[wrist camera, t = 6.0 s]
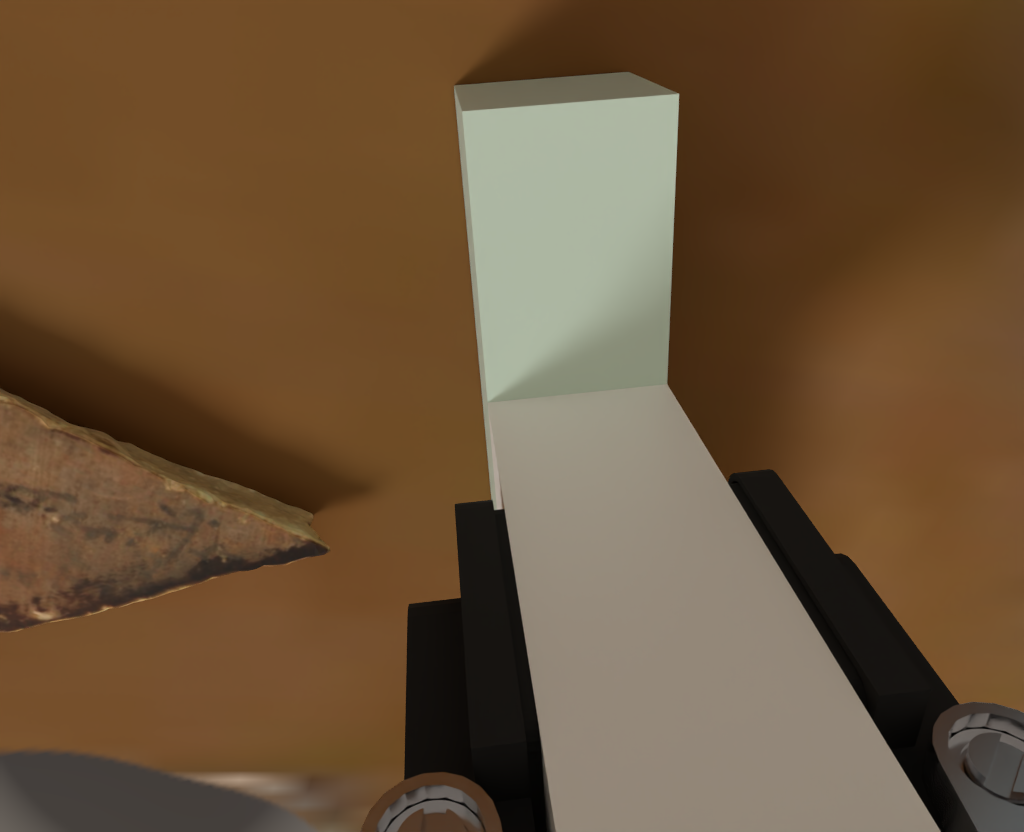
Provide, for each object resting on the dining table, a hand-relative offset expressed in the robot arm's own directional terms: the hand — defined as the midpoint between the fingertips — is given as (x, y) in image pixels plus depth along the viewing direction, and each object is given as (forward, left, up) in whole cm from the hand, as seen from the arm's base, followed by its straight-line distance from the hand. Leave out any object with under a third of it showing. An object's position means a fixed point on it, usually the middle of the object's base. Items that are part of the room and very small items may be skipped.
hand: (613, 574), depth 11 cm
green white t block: (0, 0, -6) cm, 6 cm away
